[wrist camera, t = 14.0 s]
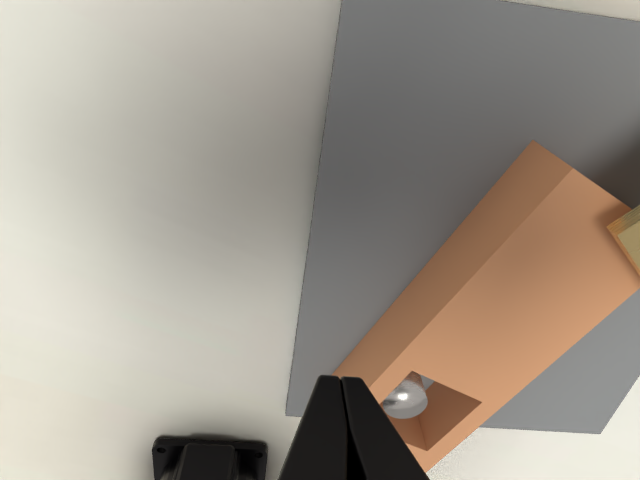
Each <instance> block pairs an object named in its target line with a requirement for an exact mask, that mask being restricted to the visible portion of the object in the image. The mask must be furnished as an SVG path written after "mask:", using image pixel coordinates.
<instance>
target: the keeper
mask: <svg viewBox="0 0 640 480" xmlns="http://www.w3.org/2000/svg"><path fill="white" fill-rule="evenodd" d="M607 228H608V230H609V231H610V233H611V234H612V236H613V237H614V239H615V240H616V242H617V243H618V245H619V246H620V248H621V249H622V251H623V252H624V254H625V255H626V257H627V258H628V260H629V261H630V262H631V264H632V265H633V267H634V268H635V270H636V271H637V273H638V274H639V276H640V205H639V206H637V207H636V208H634V209H633V210H631V211H630V212H628V213H627V214H625V215H623V216H622V217H620V218H619V219H617V220H616V221H614V222H613V223H611V224H610V225H608V226H607Z"/></svg>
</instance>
